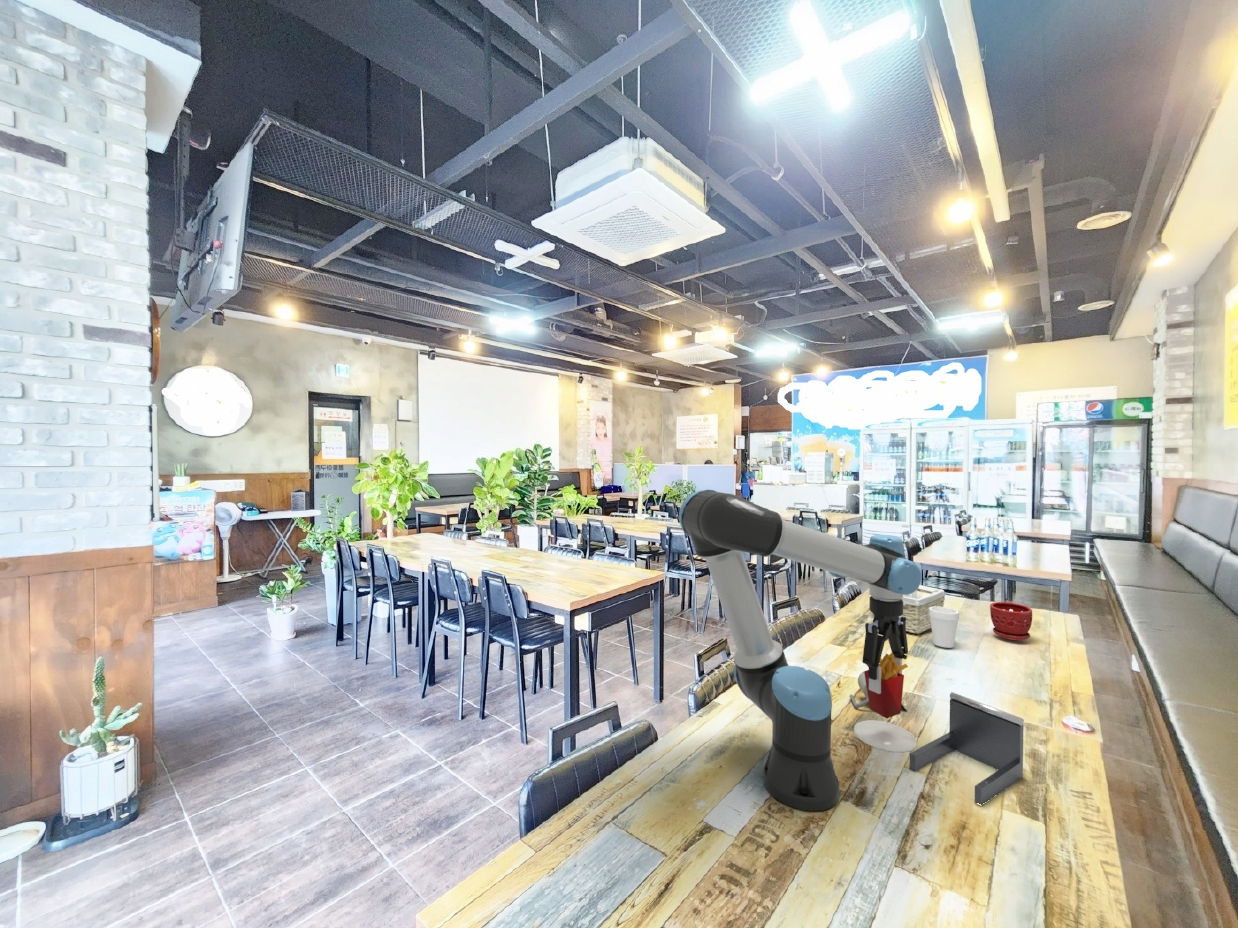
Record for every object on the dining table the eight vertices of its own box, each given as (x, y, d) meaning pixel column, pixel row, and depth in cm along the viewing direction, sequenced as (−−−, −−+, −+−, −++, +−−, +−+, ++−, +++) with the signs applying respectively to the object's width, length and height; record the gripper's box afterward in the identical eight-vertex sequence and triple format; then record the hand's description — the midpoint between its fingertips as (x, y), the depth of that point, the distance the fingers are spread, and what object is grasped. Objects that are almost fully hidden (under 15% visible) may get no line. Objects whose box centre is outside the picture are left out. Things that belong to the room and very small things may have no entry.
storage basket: (918, 636, 201) (918, 598, 200) (877, 624, 214) (878, 589, 214) (946, 624, 214) (947, 589, 214) (906, 614, 228) (907, 581, 227)
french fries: (864, 708, 130) (861, 651, 130) (887, 700, 133) (885, 644, 133) (895, 725, 122) (892, 664, 121) (918, 716, 125) (916, 656, 125)
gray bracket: (981, 808, 103) (982, 741, 103) (909, 770, 115) (910, 710, 115) (1022, 778, 112) (1023, 717, 112) (952, 746, 125) (953, 691, 124)
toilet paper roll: (910, 715, 139) (881, 678, 141) (877, 736, 141) (848, 699, 142) (897, 698, 149) (870, 663, 151) (866, 717, 151) (840, 683, 153)
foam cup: (958, 643, 193) (958, 608, 193) (959, 650, 185) (959, 615, 185) (929, 638, 198) (929, 604, 198) (928, 645, 190) (928, 611, 190)
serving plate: (895, 760, 119) (895, 757, 119) (842, 732, 131) (842, 729, 131) (928, 743, 126) (928, 739, 126) (875, 717, 138) (875, 715, 138)
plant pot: (989, 628, 209) (990, 599, 209) (1030, 635, 201) (1031, 605, 201) (989, 637, 199) (990, 607, 198) (1033, 645, 191) (1033, 613, 191)
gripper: (875, 607, 119) (874, 703, 120) (924, 594, 130) (924, 682, 130) (846, 600, 126) (845, 691, 126) (895, 588, 136) (895, 672, 137)
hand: (885, 686), depth 128 cm, fingers closed on french fries, 8 cm apart
